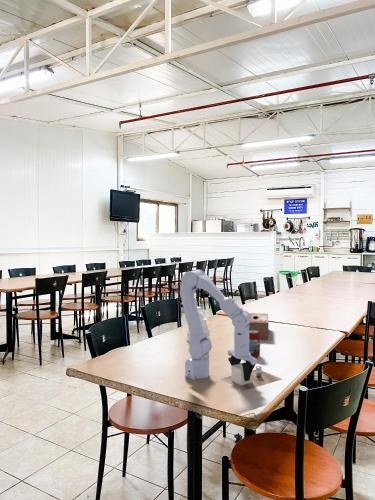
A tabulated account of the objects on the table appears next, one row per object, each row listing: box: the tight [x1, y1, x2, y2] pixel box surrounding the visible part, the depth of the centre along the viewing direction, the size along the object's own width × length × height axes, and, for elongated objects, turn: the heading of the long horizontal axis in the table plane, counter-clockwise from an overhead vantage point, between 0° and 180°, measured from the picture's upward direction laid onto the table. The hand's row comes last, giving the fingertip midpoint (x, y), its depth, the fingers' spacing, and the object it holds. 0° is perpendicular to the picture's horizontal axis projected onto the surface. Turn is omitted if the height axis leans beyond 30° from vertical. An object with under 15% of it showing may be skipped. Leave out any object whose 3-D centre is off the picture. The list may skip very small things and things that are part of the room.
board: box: [220, 369, 282, 391], centre depth 154 cm, size 20×14×2 cm
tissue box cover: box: [247, 312, 269, 341], centre depth 229 cm, size 26×14×10 cm, turn 169°
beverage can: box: [249, 330, 261, 358], centre depth 187 cm, size 7×7×12 cm
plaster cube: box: [231, 362, 252, 385], centre depth 151 cm, size 6×6×6 cm
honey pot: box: [186, 306, 211, 342], centre depth 217 cm, size 13×13×18 cm
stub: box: [255, 365, 263, 378], centre depth 156 cm, size 2×2×4 cm
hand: (241, 378), depth 151 cm, fingers closed on plaster cube, 6 cm apart
